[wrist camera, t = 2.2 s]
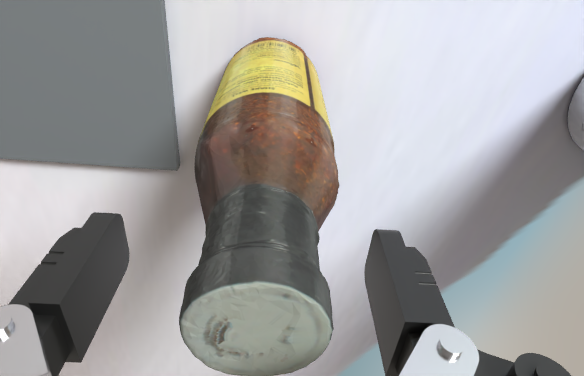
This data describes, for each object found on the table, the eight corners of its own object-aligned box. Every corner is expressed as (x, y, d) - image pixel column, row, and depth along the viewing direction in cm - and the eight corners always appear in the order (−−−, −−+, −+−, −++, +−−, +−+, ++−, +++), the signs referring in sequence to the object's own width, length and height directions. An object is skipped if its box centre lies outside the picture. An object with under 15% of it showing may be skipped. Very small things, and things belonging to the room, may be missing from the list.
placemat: (163, -7, 23) (159, -5, 23) (179, 165, 30) (177, 170, 29) (-74, -27, 23) (-85, -26, 22) (-5, 152, 30) (-12, 157, 29)
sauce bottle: (208, 81, 26) (57, 327, 10) (271, 11, 24) (215, 178, 7) (277, 143, 29) (252, 423, 12) (341, 84, 26) (418, 335, 10)
